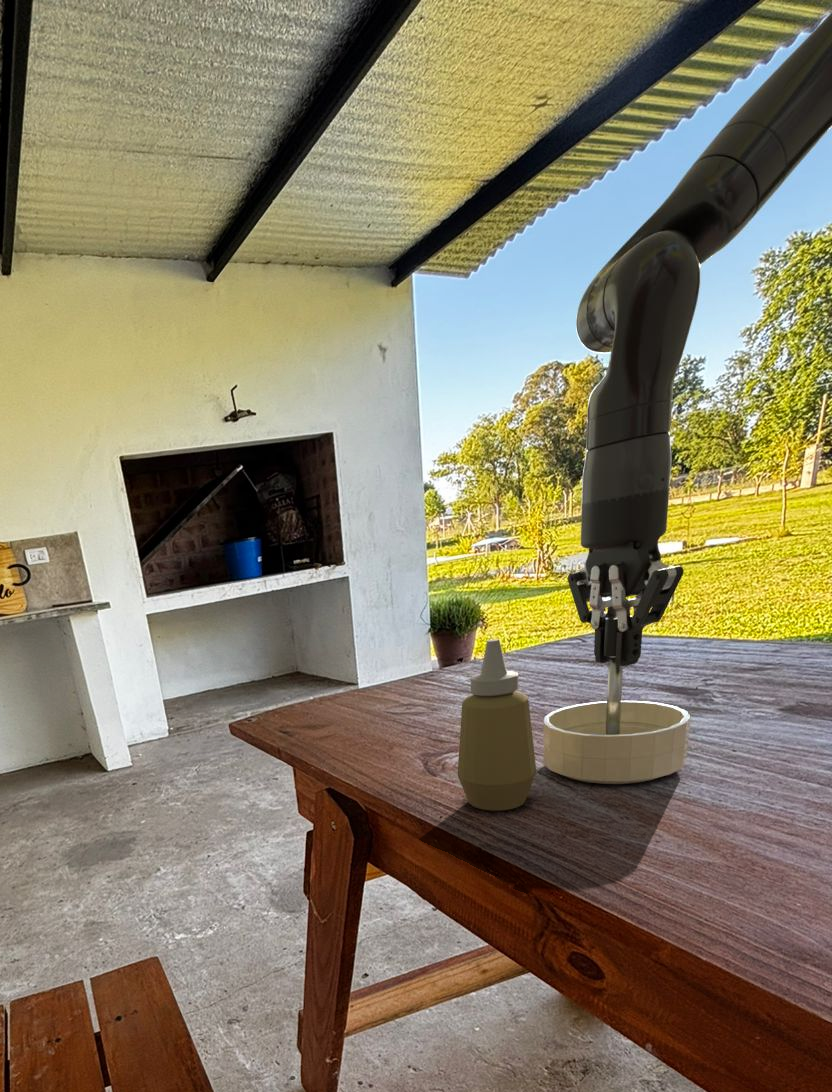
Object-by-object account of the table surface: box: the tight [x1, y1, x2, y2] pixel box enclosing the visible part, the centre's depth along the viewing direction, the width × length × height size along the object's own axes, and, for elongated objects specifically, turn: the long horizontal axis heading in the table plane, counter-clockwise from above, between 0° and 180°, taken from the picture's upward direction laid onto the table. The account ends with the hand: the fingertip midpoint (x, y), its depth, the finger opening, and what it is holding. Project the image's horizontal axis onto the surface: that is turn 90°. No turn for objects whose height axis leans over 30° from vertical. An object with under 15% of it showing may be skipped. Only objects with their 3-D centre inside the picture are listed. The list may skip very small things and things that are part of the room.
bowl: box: [542, 700, 692, 785], centre depth 71 cm, size 14×14×6 cm
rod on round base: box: [604, 615, 632, 735], centre depth 69 cm, size 6×6×16 cm
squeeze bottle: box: [457, 638, 537, 812], centre depth 66 cm, size 8×8×18 cm
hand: (615, 662), depth 68 cm, fingers closed on rod on round base, 2 cm apart
